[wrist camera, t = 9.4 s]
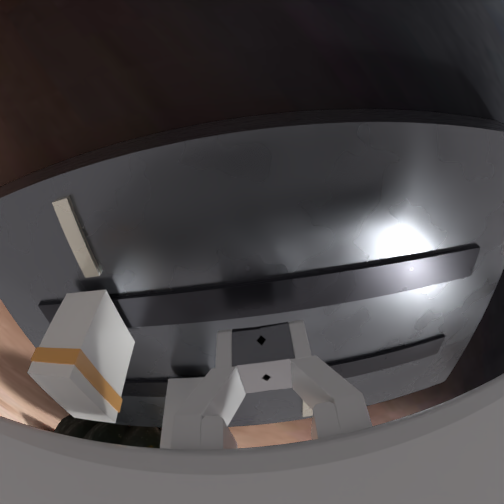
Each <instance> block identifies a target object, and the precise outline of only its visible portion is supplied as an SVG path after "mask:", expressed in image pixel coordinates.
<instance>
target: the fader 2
mask: <svg viewBox="0 0 504 504" xmlns="http://www.w3.org/2000/svg"><path fill="white" fill-rule="evenodd" d="M203 379H204V377H198V378H174V379H168V385H167V392H166V399H165V407H164V415H163V423H162V432H161V441H160V448H161V449H171V439H172V429H173V420H174V415H175V413H176V412H177V411H178V410H179V408H180V407H181V406H182V405H183V404H184V402H185V401H186V400H187V399H188V397H189V396H190V395H191V394H192V392H193V391H194V390H195V389H196V387H197V386H198V385H199V384H200V382H201V381H202V380H203Z"/></svg>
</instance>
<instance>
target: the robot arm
mask: <svg viewBox="0 0 504 504" xmlns="http://www.w3.org/2000/svg"><path fill="white" fill-rule="evenodd" d="M287 388H293V390H294V391H295V392H296V393H297V394H298V395H299V396H300V397H301V398H302V400H303V401H304V402H305V403H306V404H307V405H308V406H309V407H310V408H311V409H312V410H313V415H312V428H311V438H312V440H309V441H303V442H296V443H289V444H281V445H273V446H263V447H252V448H237V442H236V440H235V439H234V437H233V435H232V433H231V432H230V430H229V428H228V427H227V426H228V425H229V423H230V421H231V420H232V418H233V416H234V414H235V413H236V411H237V409H238V408H239V406H240V404H241V402H242V401H243V399H244V397H245V395H246V393H254V392H262V391H268V390H278V389H287ZM0 504H504V374H502V375H500V376H498V377H496V378H494V379H492V380H491V381H489V382H487V383H485V384H483V385H481V386H479V387H477V388H475V389H473V390H470V391H468V392H466V393H464V394H462V395H460V396H457V397H455V398H453V399H450V400H448V401H446V402H443V403H441V404H438V405H436V406H433V407H431V408H428V409H425V410H423V411H420V412H417V413H414V414H411V415H408V416H405V417H402V418H399V419H396V420H393V421H390V422H386V423H383V424H380V425H376V426H372V423H371V420H370V417H369V413H368V410H367V406H366V403H365V400H364V396H363V393H362V392H360V391H359V390H358V389H357V388H355V387H354V386H353V385H352V384H350V383H349V382H348V381H347V380H345V379H344V378H343V377H342V376H340V375H339V374H338V373H337V372H336V371H334V370H333V369H332V368H331V367H330V366H328V365H327V364H326V363H325V362H323V361H322V360H321V359H320V358H319V357H317V356H316V355H314V356H312V355H311V350H310V346H309V342H308V338H307V333H306V329H305V325H304V321H303V320H297V321H290V322H283V323H277V324H270V325H263V326H259V327H249V328H239V329H230V330H219V331H218V333H217V344H216V367H215V368H211V370H210V371H209V372H208V373H207V375H206V376H205V377H204V379H203V380H202V381H201V382H200V384H199V385H198V386H197V387H196V389H195V390H194V391H193V392H192V394H191V395H190V396H189V397H188V399H187V400H186V401H185V402H184V404H183V405H182V406H181V407H180V408H179V410H178V411H177V412H176V413H175V415H174V420H173V429H172V439H171V449H161V448H147V447H136V446H127V445H119V444H111V443H105V442H98V441H92V440H87V439H82V438H77V437H72V436H67V435H63V434H59V433H54V432H50V431H47V430H43V429H39V428H36V427H32V426H29V425H26V424H22V423H19V422H16V421H13V420H10V419H7V418H5V417H1V416H0Z"/></svg>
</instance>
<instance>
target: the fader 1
mask: <svg viewBox="0 0 504 504" xmlns="http://www.w3.org/2000/svg"><path fill="white" fill-rule="evenodd" d="M134 344H135V341H134V339H133V337H132V336H131V334H130V332H129V331H128V329H127V327H126V325H125V324H124V322H123V320H122V318H121V317H120V315H119V313H118V311H117V309H116V308H115V306H114V304H113V302H112V300H111V298H110V296H109V294H108V292H107V290H96V291H87V292H77V293H67V294H66V296H65V298H64V299H63V301H62V303H61V305H60V307H59V308H58V310H57V312H56V314H55V316H54V318H53V320H52V322H51V323H50V325H49V327H48V329H47V331H46V333H45V335H44V337H43V339H42V341H41V344H40V346H39V347H36V350H35V352H34V354H33V356H32V358H31V361H32V363H31V365H30V368H29V370H28V372H27V373H28V374H29V375H30V376H31V377H32V378H33V379H34V380H35V382H36V383H37V384H38V385H39V386H40V387H41V388H42V389H43V390H44V391H45V392H46V393H47V394H49V395H50V396H51V397H52V398H53V399H54V400H55V401H56V402H57V403H58V404H59V405H60V406H61V407H63V408H64V409H65V410H66V411H67V412H68V413H69V414H70V415H72V416H73V417H74V418H80V419H86V420H93V421H101V422H109V423H116V419H117V414H118V412H119V413H120V409H121V404H122V398H121V396H122V391H123V387H124V383H125V378H126V374H127V370H128V366H129V362H130V359H131V355H132V351H133V347H134Z"/></svg>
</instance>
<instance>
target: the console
mask: <svg viewBox="0 0 504 504" xmlns="http://www.w3.org/2000/svg"><path fill="white" fill-rule="evenodd" d="M503 269H504V124H503V123H501V122H498V121H496V120H491V119H485V118H479V117H473V116H466V115H458V114H449V113H440V112H429V111H415V110H396V109H330V110H310V111H296V112H284V113H273V114H264V115H256V116H248V117H240V118H233V119H227V120H220V121H214V122H209V123H203V124H198V125H192V126H187V127H182V128H177V129H173V130H168V131H164V132H159V133H155V134H151V135H147V136H143V137H139V138H135V139H131V140H128V141H124V142H121V143H117V144H114V145H110V146H107V147H103V148H100V149H97V150H94V151H91V152H88V153H85V154H82V155H79V156H76V157H73V158H70V159H67V160H64V161H62V162H59V163H56V164H53V165H51V166H48V167H46V168H43V169H41V170H38V171H36V172H33V173H31V174H28V175H26V176H24V177H21V178H19V179H17V180H15V181H12V182H10V183H8V184H6V185H4V186H1V187H0V299H1V300H2V302H3V303H4V305H5V306H6V308H7V309H8V311H9V312H10V314H11V315H12V317H13V318H14V320H15V321H16V322H17V324H18V325H19V326H20V328H21V329H22V331H23V332H24V333H25V335H26V336H27V337H28V339H29V340H30V341H31V342H32V344H33V345H34V346H35V347H39V346H40V344H41V341H42V339H43V337H44V335H45V333H46V331H47V329H48V327H49V325H50V323H51V322H52V320H53V318H54V316H55V314H56V312H57V310H58V308H59V307H60V305H61V303H62V301H63V299H64V298H65V296H66V294H67V293H77V292H87V291H96V290H107V292H108V294H109V296H110V298H111V300H112V302H113V304H114V306H115V308H116V309H117V311H118V313H119V315H120V317H121V318H122V320H123V322H124V324H125V325H126V327H127V329H128V331H129V332H130V334H131V336H132V337H133V339H134V341H135V344H134V347H133V351H132V355H131V359H130V362H129V366H128V370H127V374H126V378H125V383H124V387H123V391H122V396H121V398H122V404H121V409H120V413H119V412H118V414H117V419H116V423H111V424H120V425H131V426H145V427H162V423H163V415H164V407H165V399H166V392H167V385H168V379H174V378H198V377H205V376H206V375H207V373H208V372H209V371H210V370H211V368H215V367H216V344H217V333H218V331H219V330H230V329H239V328H249V327H259V326H263V325H270V324H277V323H283V322H290V321H297V320H303V321H304V325H305V329H306V333H307V338H308V342H309V346H310V350H311V355H312V356H314V355H316V356H317V357H319V358H320V359H321V360H322V361H323V362H325V363H326V364H327V365H328V366H330V367H331V368H332V369H333V370H334V371H336V372H337V373H338V374H339V375H340V376H342V377H343V378H344V379H345V380H347V381H348V382H349V383H350V384H352V385H353V386H354V387H355V388H357V389H358V390H359V391H360V392H362V393H363V396H364V400H365V403H366V406H368V405H372V404H376V403H380V402H383V401H387V400H391V399H394V398H397V397H401V396H404V395H407V394H410V393H413V392H416V391H419V390H422V389H425V388H428V387H431V386H433V385H436V384H439V383H442V382H444V381H445V380H446V379H447V377H448V376H449V374H450V373H451V371H452V369H453V368H454V366H455V365H456V363H457V361H458V360H459V358H460V357H461V355H462V353H463V351H464V350H465V348H466V346H467V345H468V343H469V341H470V339H471V337H472V336H473V334H474V332H475V330H476V328H477V326H478V324H479V322H480V320H481V318H482V316H483V314H484V312H485V310H486V308H487V306H488V304H489V302H490V300H491V297H492V295H493V293H494V291H495V288H496V286H497V284H498V281H499V279H500V276H501V274H502V271H503ZM312 415H313V410H312V409H311V408H310V407H309V406H308V405H307V404H306V403H305V402H304V401H303V400H302V398H301V397H300V396H299V395H298V394H297V393H296V392H295V391H294V390H293V388H287V389H278V390H268V391H262V392H254V393H246V395H245V397H244V399H243V401H242V402H241V404H240V406H239V408H238V409H237V411H236V413H235V414H234V416H233V418H232V420H231V421H230V423H229V425H228V426H227V427H234V426H248V425H259V424H269V423H277V422H285V421H293V420H299V419H306V418H312ZM108 423H109V422H108Z"/></svg>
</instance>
